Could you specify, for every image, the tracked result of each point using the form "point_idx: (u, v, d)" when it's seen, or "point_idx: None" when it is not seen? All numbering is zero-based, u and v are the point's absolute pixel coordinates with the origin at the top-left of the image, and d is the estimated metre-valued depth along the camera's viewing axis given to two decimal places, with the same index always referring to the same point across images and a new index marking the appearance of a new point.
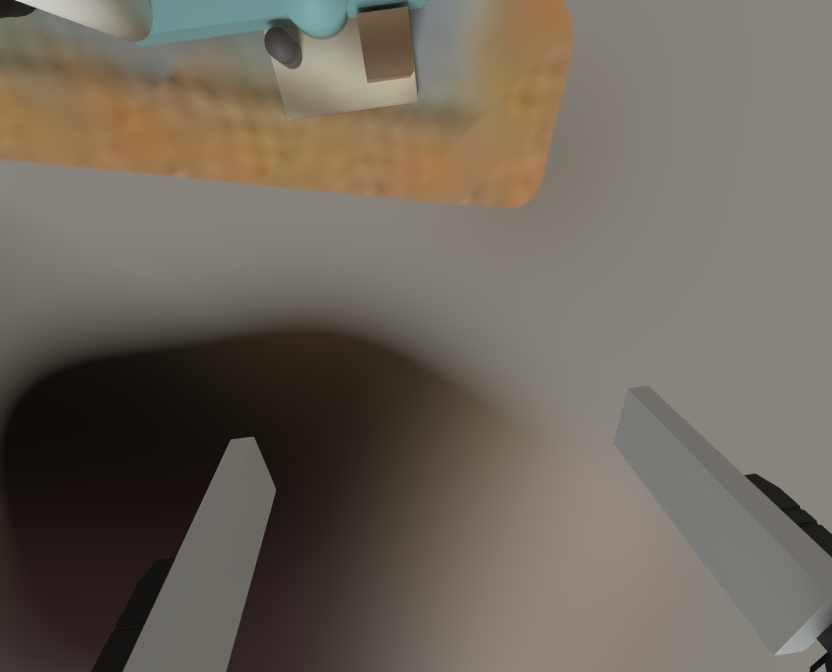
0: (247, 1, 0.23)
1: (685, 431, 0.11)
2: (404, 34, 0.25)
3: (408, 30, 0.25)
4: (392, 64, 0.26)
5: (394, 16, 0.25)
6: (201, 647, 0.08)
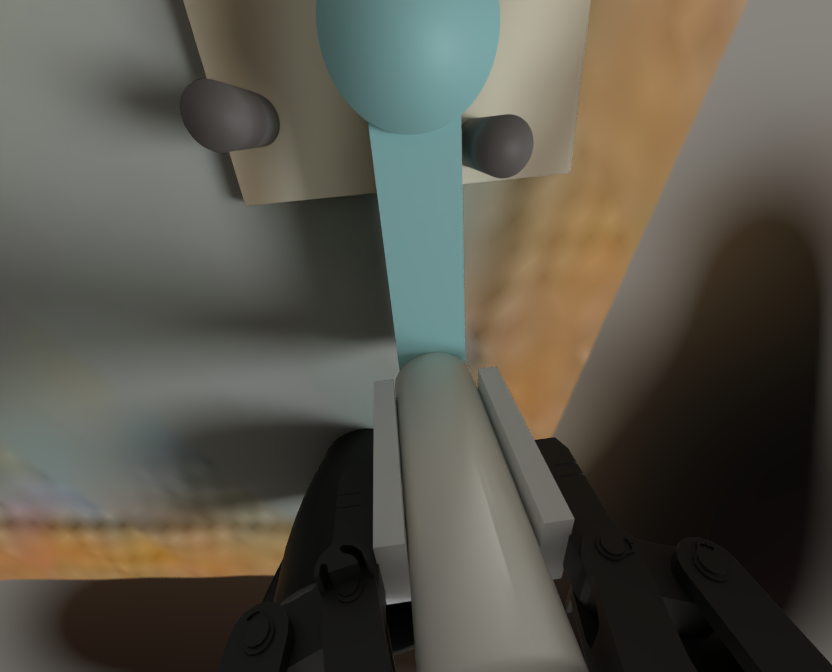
0: (435, 197, 0.12)
1: (505, 402, 0.12)
2: None
3: None
4: None
5: None
6: None
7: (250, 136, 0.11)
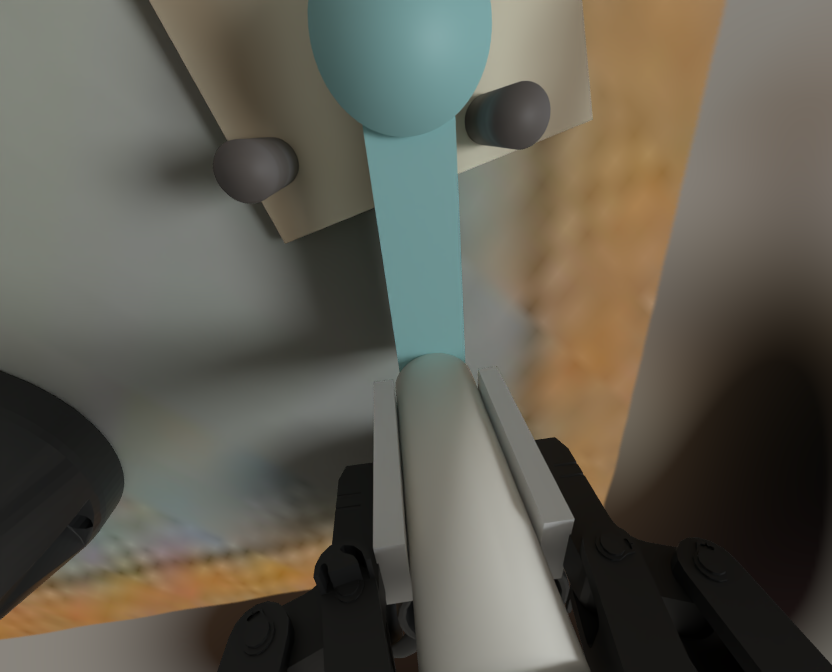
0: (431, 199, 0.12)
1: (505, 402, 0.12)
2: None
3: None
4: None
5: None
6: (405, 523, 0.10)
7: (278, 180, 0.12)
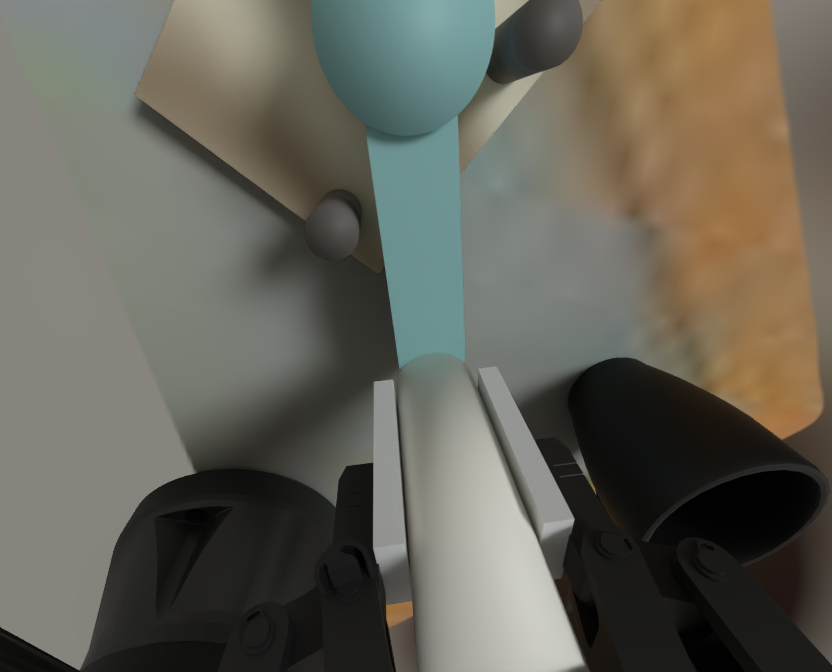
0: (432, 198, 0.12)
1: (505, 402, 0.12)
2: None
3: None
4: None
5: None
6: (405, 523, 0.10)
7: (357, 225, 0.13)
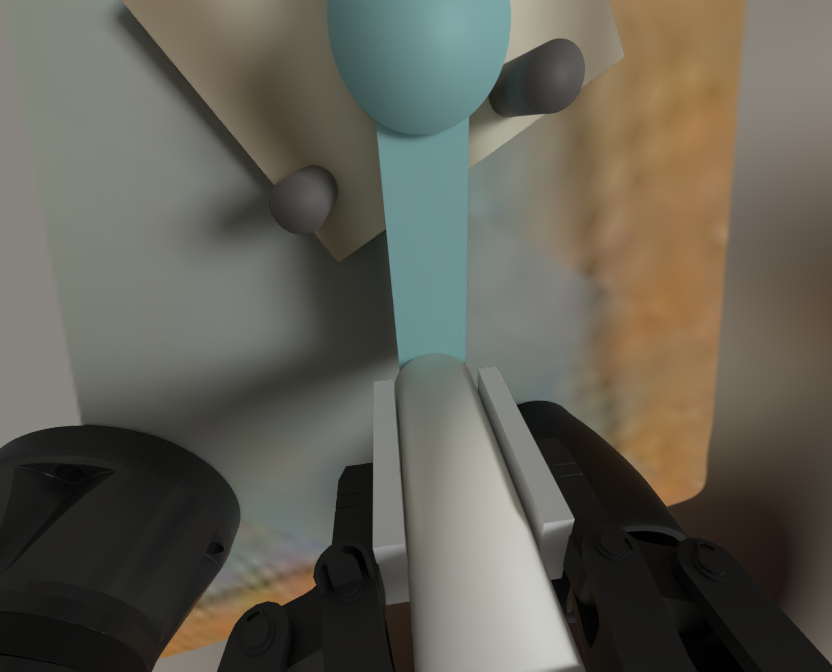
0: (440, 198, 0.12)
1: (505, 402, 0.12)
2: None
3: None
4: None
5: None
6: None
7: (328, 205, 0.12)
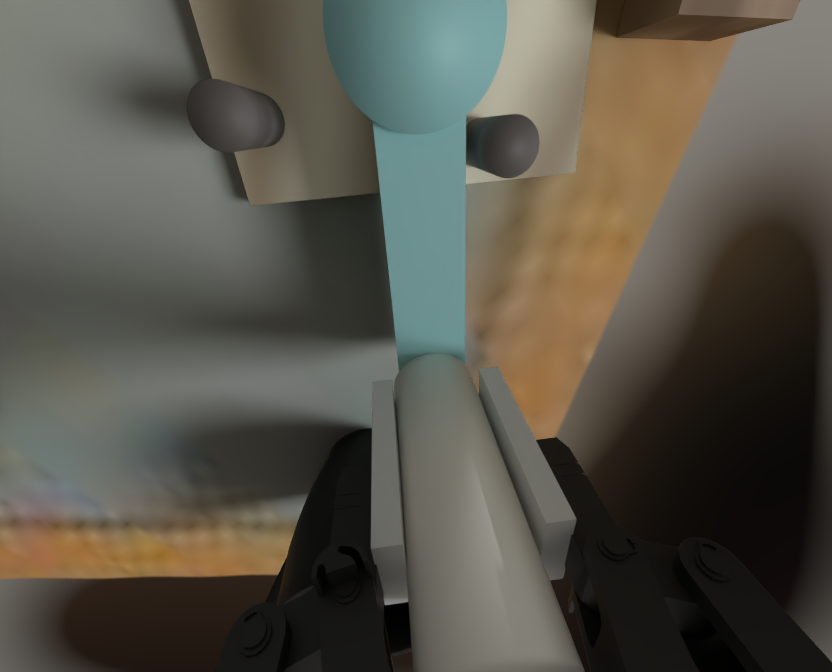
0: (438, 198, 0.12)
1: (507, 402, 0.12)
2: None
3: None
4: None
5: None
6: (403, 524, 0.10)
7: (256, 136, 0.11)
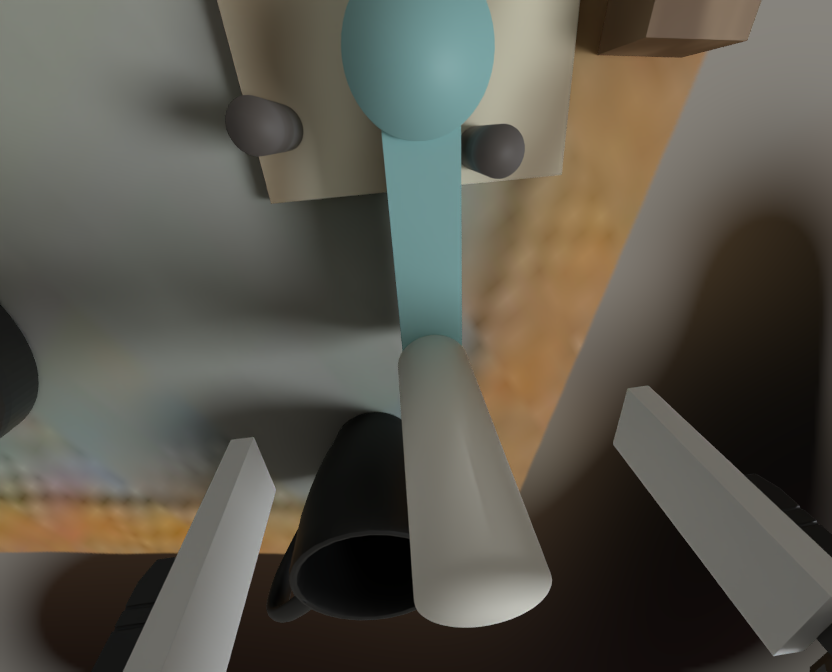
0: (437, 196, 0.14)
1: (685, 431, 0.11)
2: None
3: None
4: None
5: None
6: (201, 647, 0.08)
7: (282, 142, 0.13)
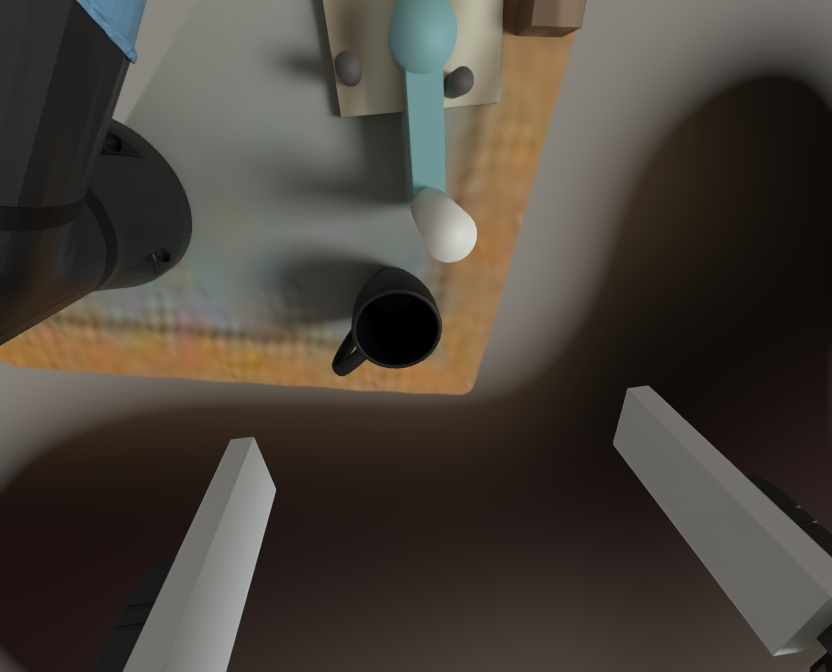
0: (432, 103, 0.28)
1: (685, 431, 0.11)
2: None
3: None
4: None
5: None
6: (201, 647, 0.08)
7: (358, 75, 0.27)
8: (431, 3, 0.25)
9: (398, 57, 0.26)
